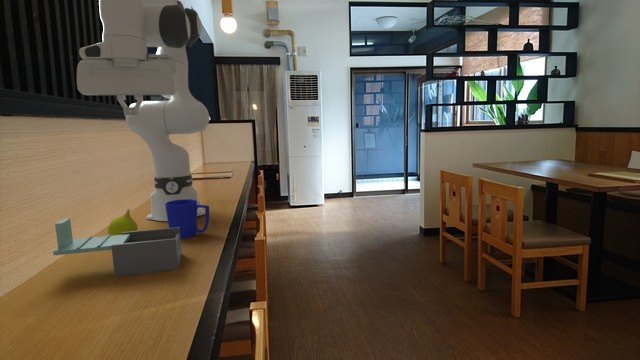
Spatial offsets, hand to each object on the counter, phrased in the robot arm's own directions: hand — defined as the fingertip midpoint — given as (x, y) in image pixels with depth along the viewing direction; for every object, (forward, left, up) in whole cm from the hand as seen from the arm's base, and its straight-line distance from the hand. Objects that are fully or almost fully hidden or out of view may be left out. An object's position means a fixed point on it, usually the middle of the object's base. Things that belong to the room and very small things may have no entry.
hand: (131, 115), depth 87 cm
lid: (+11, -7, -27) cm, 30 cm away
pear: (-12, -7, -33) cm, 36 cm away
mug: (-10, +10, -33) cm, 36 cm away
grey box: (+11, +3, -33) cm, 35 cm away
